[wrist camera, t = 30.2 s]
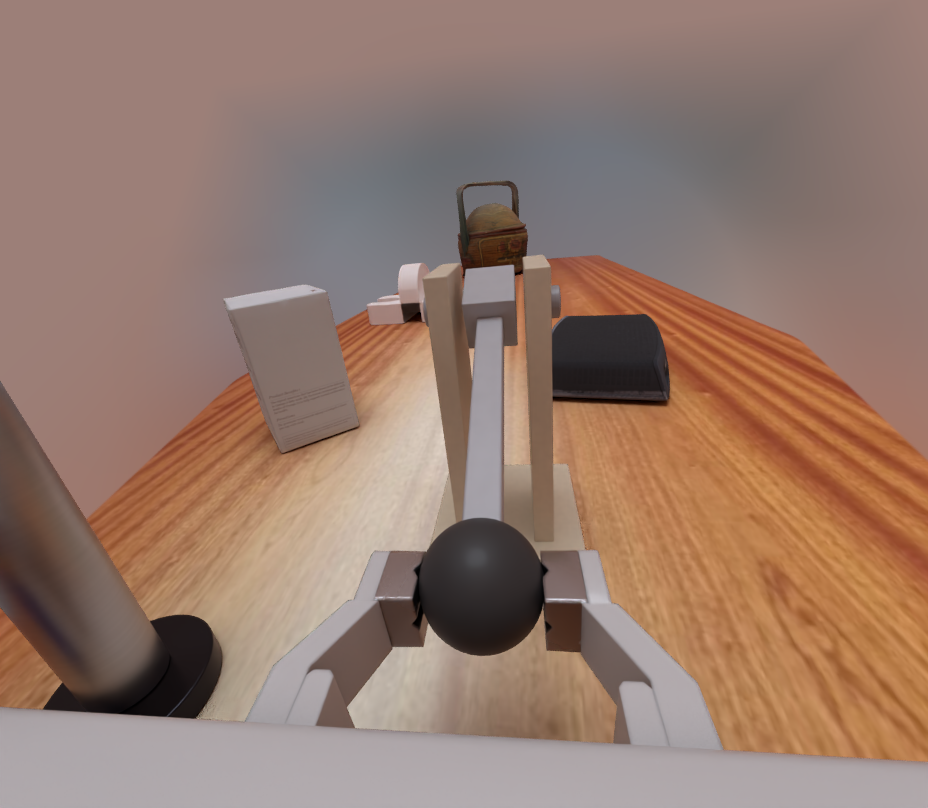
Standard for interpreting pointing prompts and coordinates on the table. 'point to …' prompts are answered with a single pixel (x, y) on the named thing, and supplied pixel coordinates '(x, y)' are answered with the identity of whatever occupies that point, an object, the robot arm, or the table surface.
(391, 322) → the u-slot mount
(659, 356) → the hard drive
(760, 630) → the table surface
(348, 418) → the white packaging box
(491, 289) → the lever with black knob
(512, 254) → the basket
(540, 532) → the wooden pivot stand
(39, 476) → the metal pole
